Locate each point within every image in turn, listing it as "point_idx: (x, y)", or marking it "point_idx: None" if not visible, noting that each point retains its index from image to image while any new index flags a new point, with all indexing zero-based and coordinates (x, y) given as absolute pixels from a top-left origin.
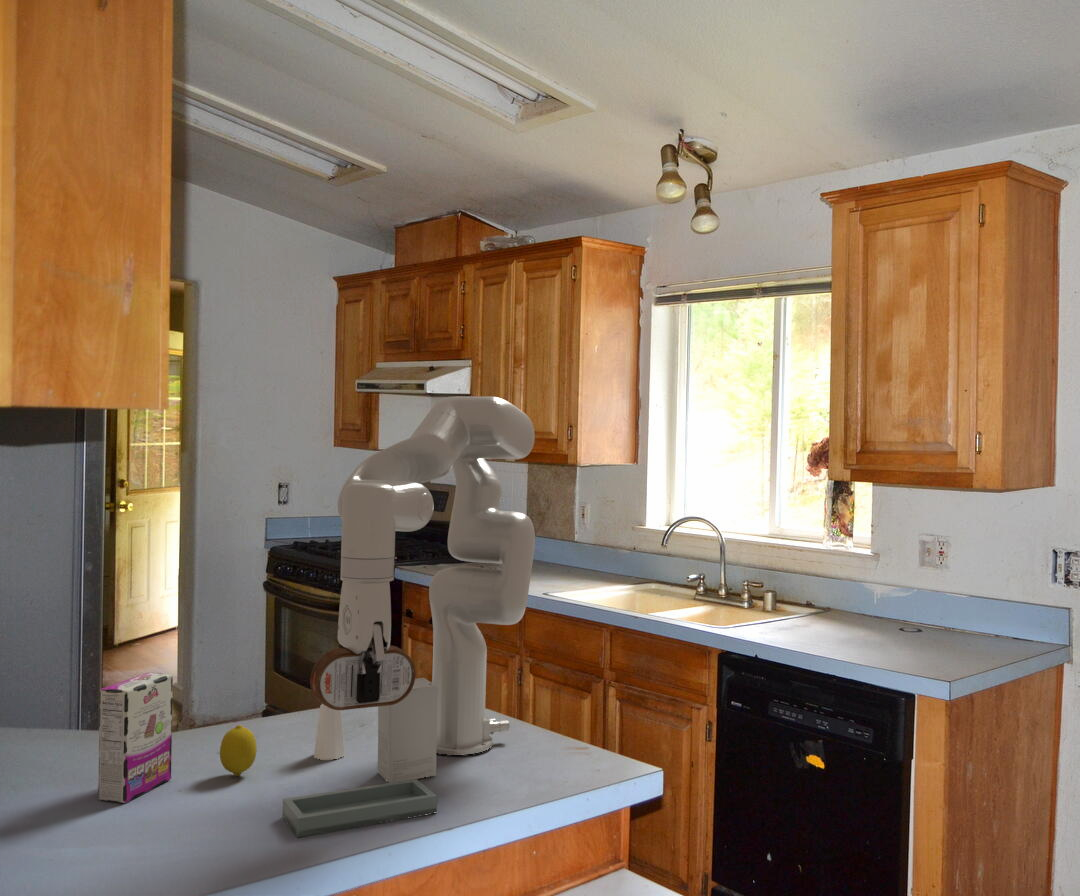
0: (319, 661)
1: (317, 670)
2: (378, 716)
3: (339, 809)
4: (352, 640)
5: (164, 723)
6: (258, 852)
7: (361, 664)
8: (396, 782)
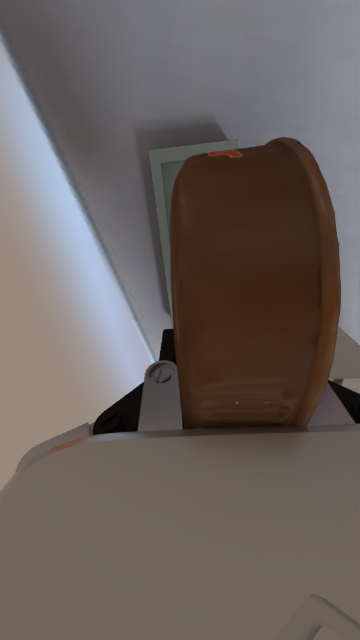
0: (293, 199)
1: (213, 167)
2: (350, 338)
3: (165, 221)
4: (101, 553)
5: None
6: (112, 72)
7: (154, 394)
8: None
